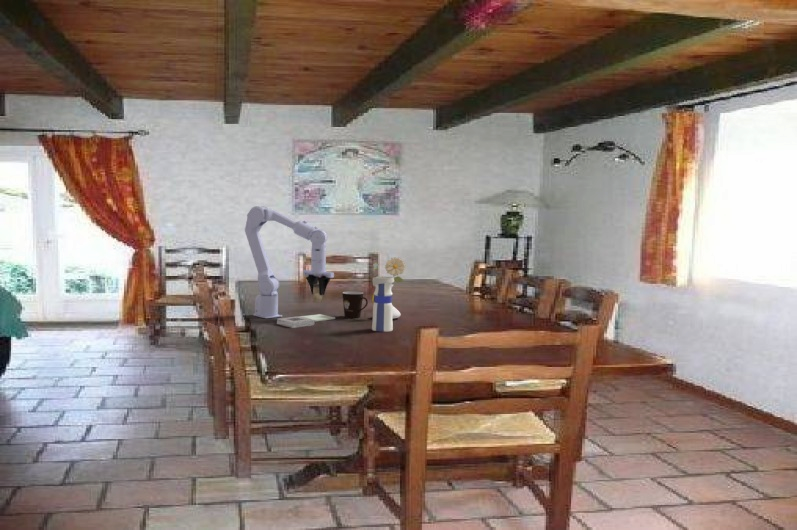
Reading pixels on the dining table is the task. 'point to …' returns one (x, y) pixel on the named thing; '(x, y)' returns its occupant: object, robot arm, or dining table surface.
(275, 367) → the dining table surface
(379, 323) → the water bottle
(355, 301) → the coffee mug
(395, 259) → the flower in vase
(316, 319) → the mat
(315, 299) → the tan two-tone cylinder
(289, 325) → the square metal frame
